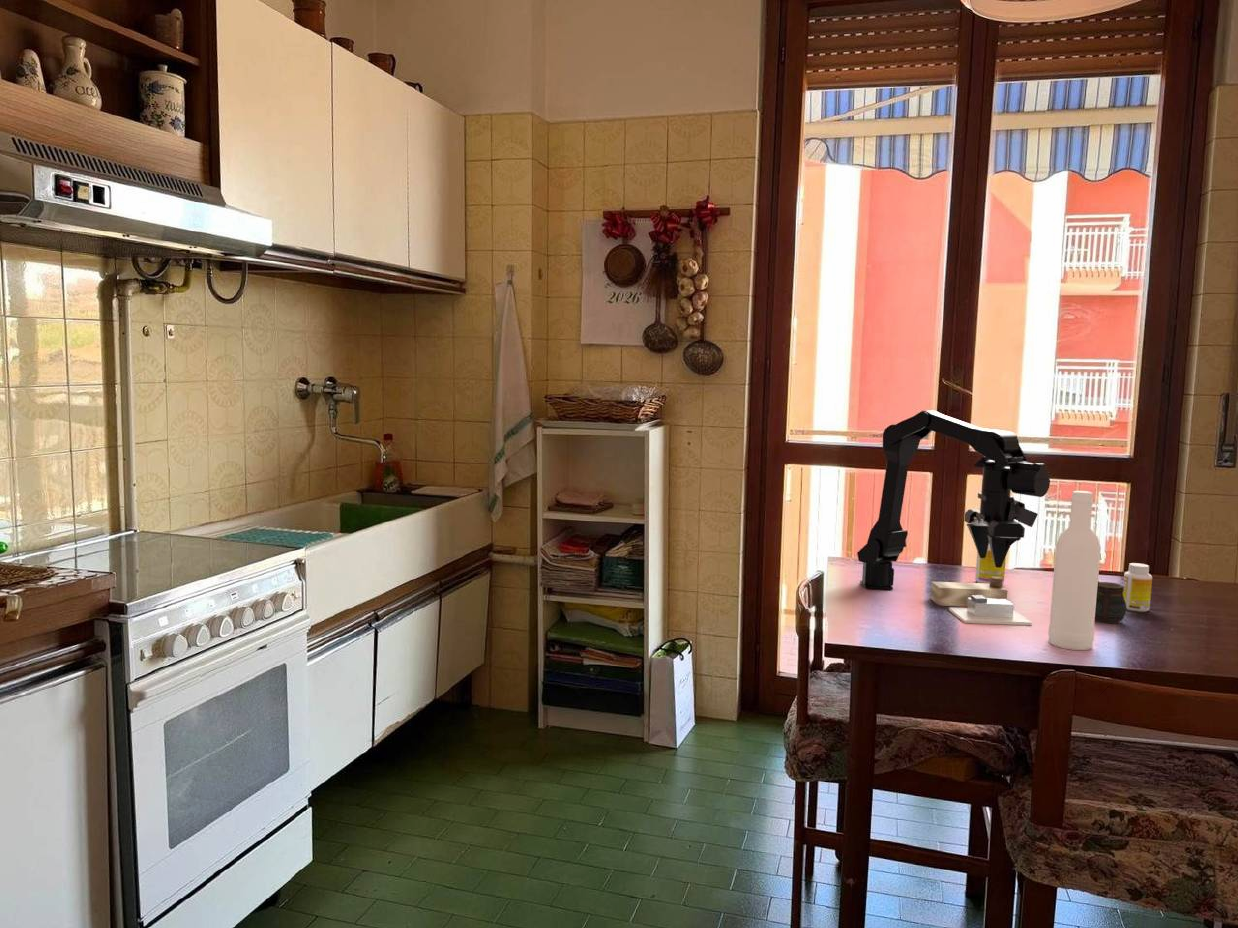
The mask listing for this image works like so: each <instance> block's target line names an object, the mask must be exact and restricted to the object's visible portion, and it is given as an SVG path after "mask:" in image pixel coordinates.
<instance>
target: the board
mask: <svg viewBox="0 0 1238 928" xmlns="http://www.w3.org/2000/svg"><path fill="white" fill-rule="evenodd" d="M948 611H949V612H950V613H952V614H953V615H954V616H955V617H957V618H958V619H960V621H961V622H963V623H964V624H980V625H981V624H983V625H986V624H987V625H988V624H989V625H1009V626H1010V625H1011V626H1013V625H1015V626H1033V621H1031V620H1030V619H1027V617H1025V616H1023V615H1022V614H1020V613H1019V612H1017V611H1016V610H1014V609H1013V618H988V617H974V616H973V615H971V614H970V613H969V612H967V607H948Z"/></svg>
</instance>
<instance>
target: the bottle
mask: <svg viewBox="0 0 1238 928" xmlns="http://www.w3.org/2000/svg"><path fill="white" fill-rule="evenodd" d="M1070 501H1071V503H1070V515H1069V526H1068V527H1067V528H1066V529H1065V530H1063V531H1062V532H1061V533H1060V534H1059V537H1058V539H1057V540H1056V543H1055V553H1054V554H1055V556H1054V568H1053V577H1052V579H1053V580H1052V590H1051V591H1052V592H1051V605H1050V613H1049V614H1050V615H1049V616H1050V617H1049V618H1050V619H1049V625H1048V632H1047V633H1048V643H1049V644H1051V645H1052V646H1054V647H1057V648H1061V649H1065V650H1071V651H1090V650H1092V649H1093V643H1094V639H1095V637H1094V636H1095V630H1094V629H1095V621H1096V620H1095V609H1096V597H1097V586H1098V581H1099V571H1100V560H1101V559H1100V558H1101V551H1102V550H1101V548H1102V547H1101V544H1100V540H1099V537H1098V535H1097V534H1096V533H1095V532H1094V531H1093V530H1092V529H1091V525H1092V523H1091V522H1092V513H1093V512H1092V511H1093V503H1094V493H1093V492H1092V491H1086V490H1073V491H1072V492H1071V497H1070Z"/></svg>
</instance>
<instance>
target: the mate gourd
mask: <svg viewBox="0 0 1238 928" xmlns="http://www.w3.org/2000/svg"><path fill="white" fill-rule="evenodd" d="M1123 590H1124V586H1123V584H1121V583H1116V582H1111V581H1099V580H1098V586H1097V597H1096V609H1095V621H1097V622H1100V623H1104V624H1118V623H1120V622H1121V621H1123V620H1124V618H1125V616H1126V613H1127V611H1128V610H1127V608H1126V603H1125V600H1124V597H1123Z"/></svg>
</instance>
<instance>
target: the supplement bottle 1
mask: <svg viewBox="0 0 1238 928" xmlns="http://www.w3.org/2000/svg"><path fill="white" fill-rule="evenodd" d="M976 551H977V550H976ZM1006 557H1007V556H1006ZM1006 557H1005V559H1004V562H1003V564H1002V567H1001V568H997V567H995V564H994V560H993V556H992V552H991V548H990V544H989V545H988V549H987V554H986V557H985V558H980V557H979V554H978V551H977V552H976V566H975V579H974V580H975V583H987V584H990V577H1000V578H1002V579H1003V580H1002V585H1003V584H1005V571H1006Z"/></svg>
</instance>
